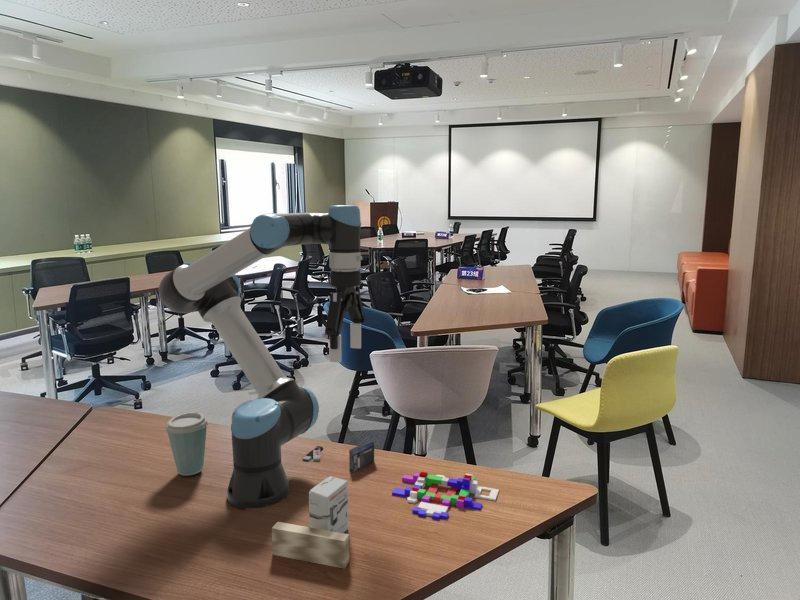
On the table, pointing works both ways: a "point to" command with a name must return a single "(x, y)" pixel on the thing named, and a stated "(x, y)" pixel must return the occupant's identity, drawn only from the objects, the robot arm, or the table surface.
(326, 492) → the ink box
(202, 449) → the disposable coffee cup
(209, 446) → the table surface
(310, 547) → the board
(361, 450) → the mini dv tape
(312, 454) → the usb flash drive
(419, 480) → the building block set
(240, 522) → the table surface
